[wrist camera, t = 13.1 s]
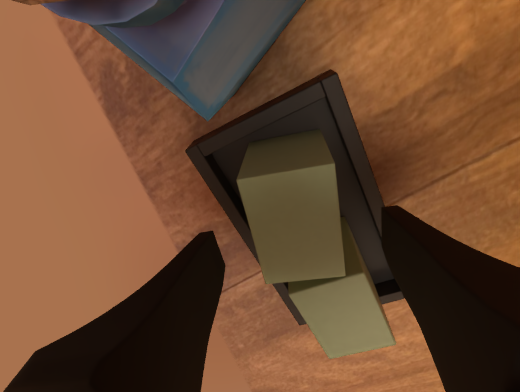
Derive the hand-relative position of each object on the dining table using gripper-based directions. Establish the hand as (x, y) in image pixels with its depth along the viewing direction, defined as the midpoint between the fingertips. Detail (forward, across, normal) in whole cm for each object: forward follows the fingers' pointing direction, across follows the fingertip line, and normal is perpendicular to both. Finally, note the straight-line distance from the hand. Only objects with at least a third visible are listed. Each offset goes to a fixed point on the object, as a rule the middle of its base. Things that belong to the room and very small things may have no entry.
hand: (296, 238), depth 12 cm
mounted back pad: (+6, -2, +6) cm, 9 cm away
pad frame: (+6, -1, +3) cm, 7 cm away
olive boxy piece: (+6, 0, 0) cm, 6 cm away
